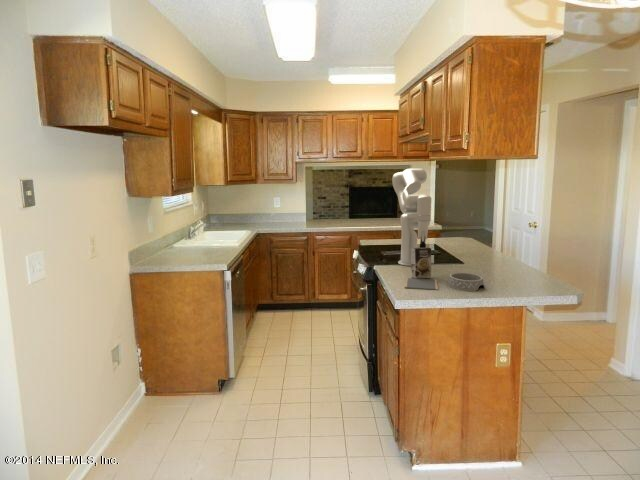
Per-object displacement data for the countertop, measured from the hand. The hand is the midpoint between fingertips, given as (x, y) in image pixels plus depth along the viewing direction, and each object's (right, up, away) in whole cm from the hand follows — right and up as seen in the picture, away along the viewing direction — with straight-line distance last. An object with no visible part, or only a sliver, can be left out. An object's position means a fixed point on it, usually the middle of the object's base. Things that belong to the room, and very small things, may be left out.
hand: (422, 251), depth 253 cm
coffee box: (-2, -14, -6) cm, 16 cm away
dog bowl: (+17, -18, -21) cm, 32 cm away
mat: (-5, -17, -18) cm, 25 cm away
